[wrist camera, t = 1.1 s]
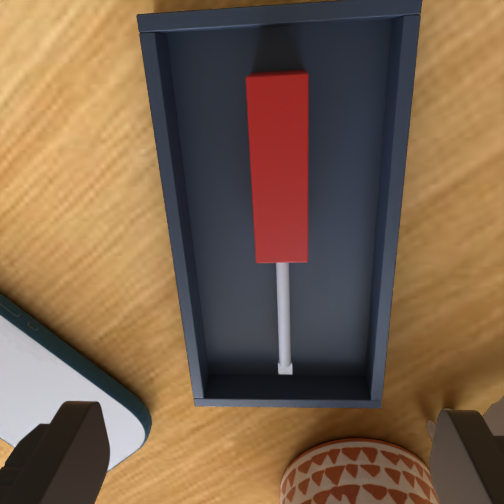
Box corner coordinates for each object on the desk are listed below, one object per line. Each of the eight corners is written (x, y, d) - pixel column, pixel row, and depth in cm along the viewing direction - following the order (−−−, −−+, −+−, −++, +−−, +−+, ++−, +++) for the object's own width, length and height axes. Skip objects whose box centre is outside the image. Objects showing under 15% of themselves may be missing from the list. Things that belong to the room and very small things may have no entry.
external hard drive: (-146, 315, 34) (-170, 330, 32) (-81, 223, 30) (-104, 234, 28) (90, 472, 40) (81, 492, 38) (170, 414, 36) (164, 433, 34)
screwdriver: (251, 72, 24) (245, 76, 20) (304, 69, 24) (308, 72, 20) (265, 354, 32) (263, 393, 29) (305, 354, 32) (307, 393, 28)
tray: (152, 18, 23) (136, 14, 21) (406, 0, 22) (423, -6, 20) (201, 379, 34) (194, 406, 32) (373, 380, 33) (381, 408, 30)
